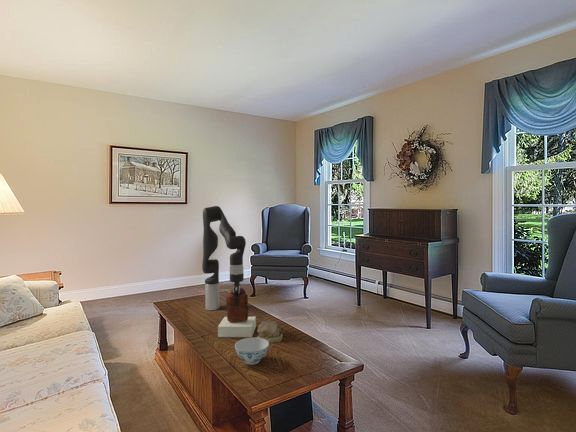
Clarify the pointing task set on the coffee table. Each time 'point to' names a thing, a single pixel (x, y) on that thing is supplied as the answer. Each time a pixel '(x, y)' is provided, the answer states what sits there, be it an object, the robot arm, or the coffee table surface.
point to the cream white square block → (237, 328)
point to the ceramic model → (269, 331)
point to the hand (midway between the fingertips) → (237, 302)
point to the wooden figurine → (237, 306)
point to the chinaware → (252, 349)
